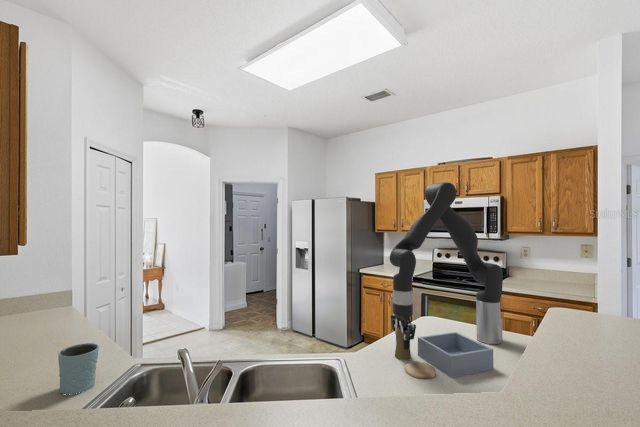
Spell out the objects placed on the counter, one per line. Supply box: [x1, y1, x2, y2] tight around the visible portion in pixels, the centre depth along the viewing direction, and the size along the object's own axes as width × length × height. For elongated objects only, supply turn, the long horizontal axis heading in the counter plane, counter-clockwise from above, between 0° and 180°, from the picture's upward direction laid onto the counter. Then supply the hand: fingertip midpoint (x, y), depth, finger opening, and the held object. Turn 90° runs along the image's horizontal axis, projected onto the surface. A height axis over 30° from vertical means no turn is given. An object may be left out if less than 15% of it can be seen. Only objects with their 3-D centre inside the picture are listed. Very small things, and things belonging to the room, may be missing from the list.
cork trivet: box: [404, 361, 437, 380], centre depth 109 cm, size 10×10×1 cm
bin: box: [417, 331, 494, 379], centre depth 116 cm, size 18×18×7 cm
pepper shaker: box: [394, 327, 412, 361], centre depth 121 cm, size 6×6×11 cm
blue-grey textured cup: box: [57, 342, 100, 395], centre depth 99 cm, size 10×10×12 cm
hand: (402, 346), depth 121 cm, fingers closed on pepper shaker, 4 cm apart
